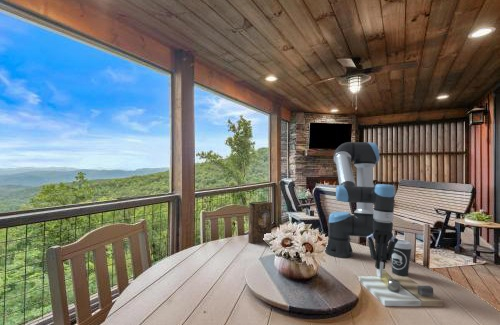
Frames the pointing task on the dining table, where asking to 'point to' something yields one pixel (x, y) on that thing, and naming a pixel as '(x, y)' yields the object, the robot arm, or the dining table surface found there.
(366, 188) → the robot arm
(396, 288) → the latch bar
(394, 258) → the coffee cup
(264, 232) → the book
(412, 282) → the door board
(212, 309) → the dining table surface
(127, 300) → the dining table surface
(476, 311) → the dining table surface
